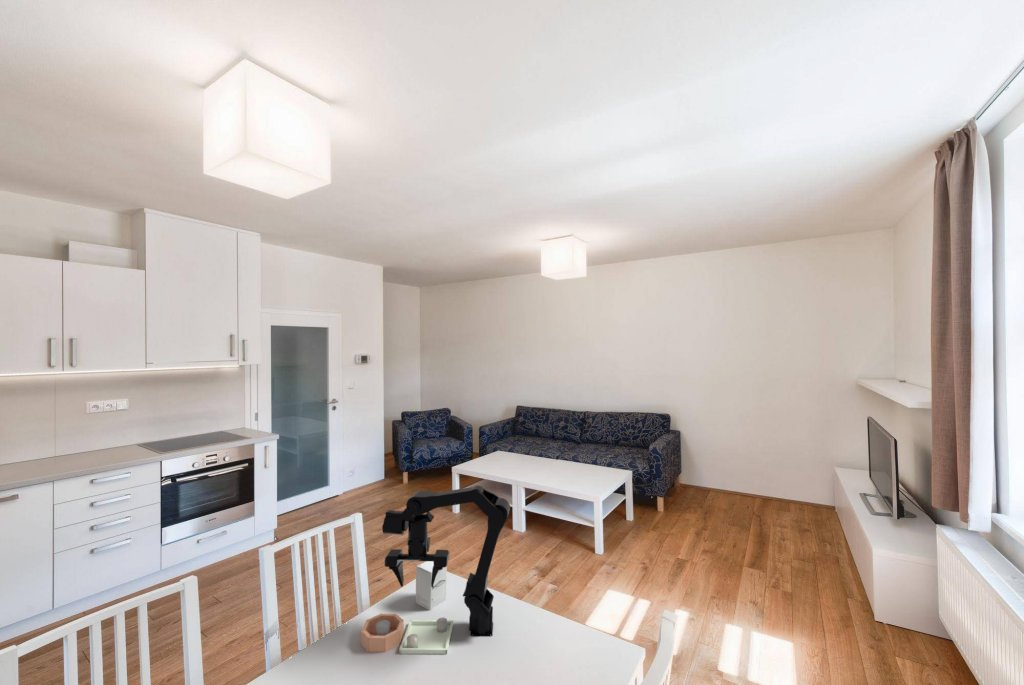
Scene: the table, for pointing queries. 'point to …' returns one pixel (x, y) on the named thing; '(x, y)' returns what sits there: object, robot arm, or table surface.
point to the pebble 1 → (412, 641)
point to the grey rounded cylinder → (382, 628)
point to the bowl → (382, 642)
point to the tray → (427, 637)
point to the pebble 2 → (441, 625)
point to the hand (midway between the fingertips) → (417, 586)
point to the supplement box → (424, 591)
